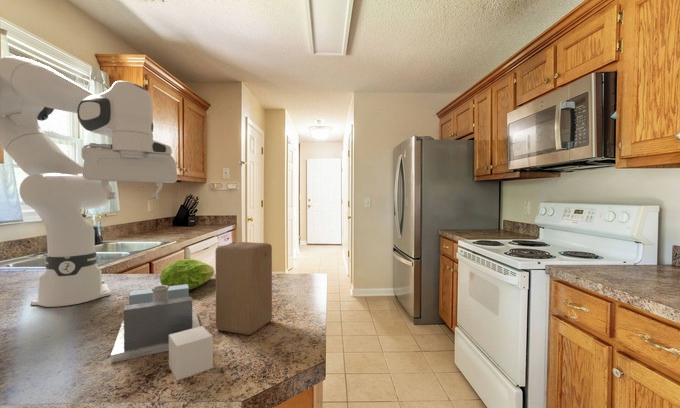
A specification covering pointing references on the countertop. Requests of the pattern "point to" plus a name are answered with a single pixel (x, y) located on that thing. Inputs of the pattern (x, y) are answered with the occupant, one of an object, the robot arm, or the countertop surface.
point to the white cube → (190, 352)
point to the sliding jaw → (147, 294)
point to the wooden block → (243, 287)
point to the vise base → (152, 327)
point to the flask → (160, 293)
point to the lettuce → (186, 273)
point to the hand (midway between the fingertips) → (133, 199)
